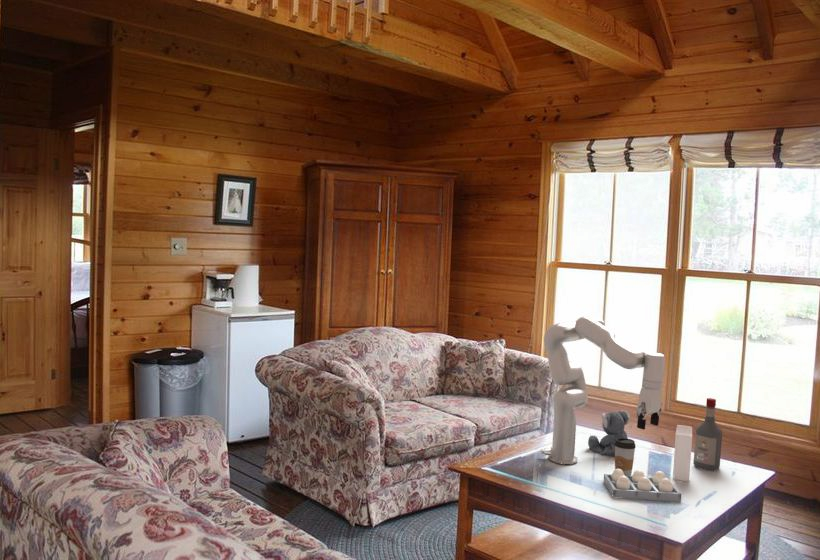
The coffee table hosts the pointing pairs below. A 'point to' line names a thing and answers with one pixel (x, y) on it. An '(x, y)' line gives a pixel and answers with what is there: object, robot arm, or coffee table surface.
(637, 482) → the carton
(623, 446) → the coffee cup
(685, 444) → the milk
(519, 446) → the coffee table surface
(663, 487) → the egg
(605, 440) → the koala plush
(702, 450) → the liquor
